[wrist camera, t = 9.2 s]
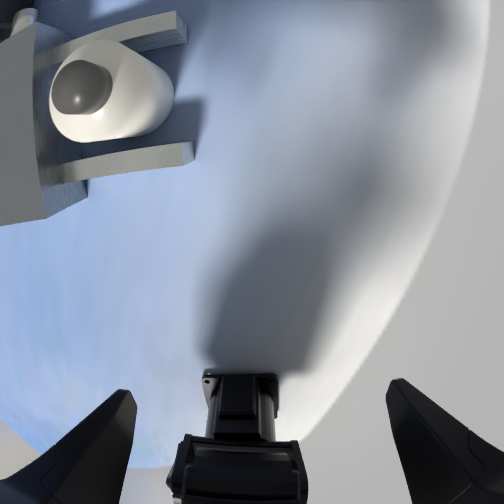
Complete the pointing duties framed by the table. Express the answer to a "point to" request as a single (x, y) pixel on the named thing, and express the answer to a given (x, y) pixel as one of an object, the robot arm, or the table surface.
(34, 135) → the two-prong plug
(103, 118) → the white cylinder
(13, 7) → the pipe connector
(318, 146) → the table surface
